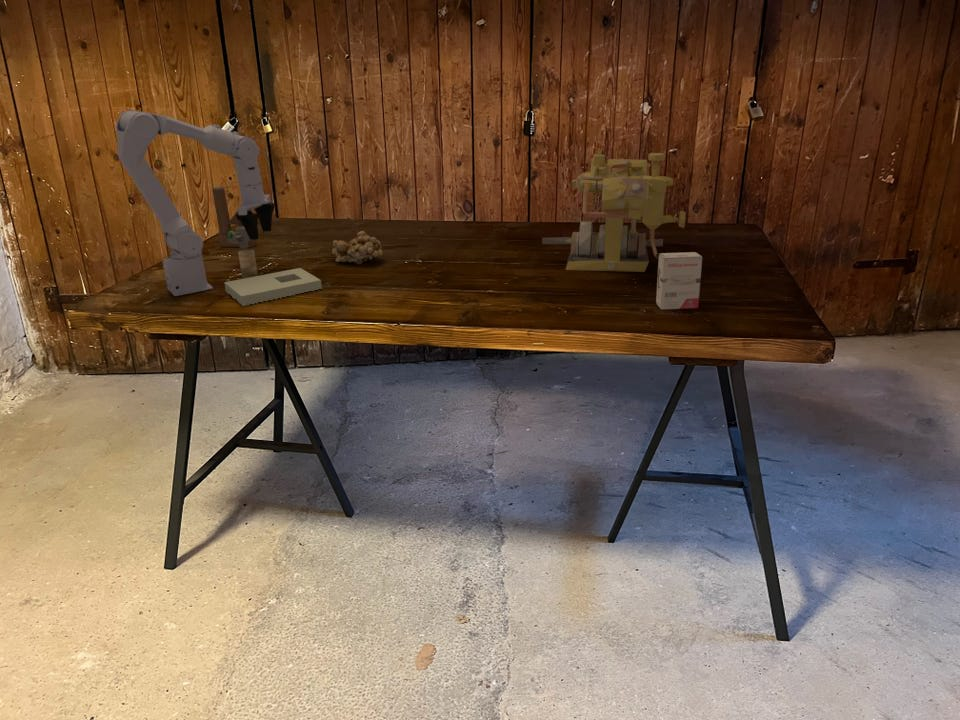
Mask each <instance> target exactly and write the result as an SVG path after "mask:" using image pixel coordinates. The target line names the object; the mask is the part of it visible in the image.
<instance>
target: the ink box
mask: <svg viewBox="0 0 960 720" xmlns="http://www.w3.org/2000/svg"><path fill="white" fill-rule="evenodd" d="M702 265H703V256H702V255H700V254H699V253H698V252H695V251H690V252H665V253H664V252H662V253H661V252H660V253H658V265H657V266H658V267H657V279H656V281H657V282H656V294H655V295H656V297H655V299H656V300H655V303H656V305H657V306H658V307H659V308H660V310H680V309H683V310H685V309H698V308H699V302H700V301H699V300H700V292H701V291H700V290H701V278H702Z"/></svg>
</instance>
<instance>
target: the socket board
mask: <svg viewBox="0 0 960 720" xmlns="http://www.w3.org/2000/svg"><path fill="white" fill-rule="evenodd" d="M223 284H224V288H225V292H226V293H227V294H228V295H229V294H230V295H231V296H232V298H233V299H234V300H235V299H236V300H237V301H238V302H237V301H236V300H235V301H236V302H237V303H238V304H240V305H241V306H243V307H247V306H251V305H250V304H252V305H256V304H259V303H258V302H261V303H264V302H263V301H266V302H269V301H268V300H271V301H274V300H273V299H275V300H278V298H280V299H283V298H282V297H285V298H287V297H286V296H290V297H292V296H291V295H294V296H296V295H295V294H299V293H304V292H308V291H313V292H315V291H314V290H318V289H322V290H323V288H322V279H320V278H318V277H316V276H315V275H313V274H311V273H309V272H308V271H306V270H305V269H303V268H301V267H299V268H293V269H292V268H291V269H287V270H281V271H276V272H271V273H266V274H261V275H260V274H259V275H258V276H255V277H250V278H245V279H242V278H239V279H235V280H230V281H224V283H223ZM318 291H319V290H318ZM304 294H305V293H304ZM230 295H229V296H230ZM299 295H300V294H299ZM231 296H230V297H231ZM255 303H256V304H255ZM246 305H247V306H246Z"/></svg>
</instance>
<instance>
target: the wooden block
mask: <svg viewBox="0 0 960 720" xmlns="http://www.w3.org/2000/svg"><path fill="white" fill-rule="evenodd" d="M212 195H213V197H212V198H213V202H214V207H215V213H216V219H217V224H218V229H219V235H218V236H217V237H218V243H219V247H220V248H240V244H232V243H229V242H228V238H227V236H226V234H227V233H228V232H229V231H233V230H232V225H238V227H242V226H243V225H242V224H241V222H240V221H239V220H238V219H237V218H236V214H237V213H238V210H237V211H236V212H235V213H234V215H233V216H232V217H231V218H230V214H229V207H228V202H227V201H228V200H227V195H226V189H225V187H223V186H216V187H215V186H214V187H213V188H212ZM251 212H253V210H252V211H251ZM237 240H238V238H236V241H237ZM248 245H249V247H248V248H253V247H256V246H257V240H250V241H248Z"/></svg>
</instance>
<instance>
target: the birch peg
mask: <svg viewBox="0 0 960 720" xmlns="http://www.w3.org/2000/svg"><path fill="white" fill-rule="evenodd" d="M237 254H238V255H237V256H238V259H239V260H238V261H239V266H240V272H241V279H245V278H250V277H255V276H259V273H258V267H257V261H256V255H255V254H256V253H255V250H254V249H248V250H242V249H241V250H238V252H237Z"/></svg>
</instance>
